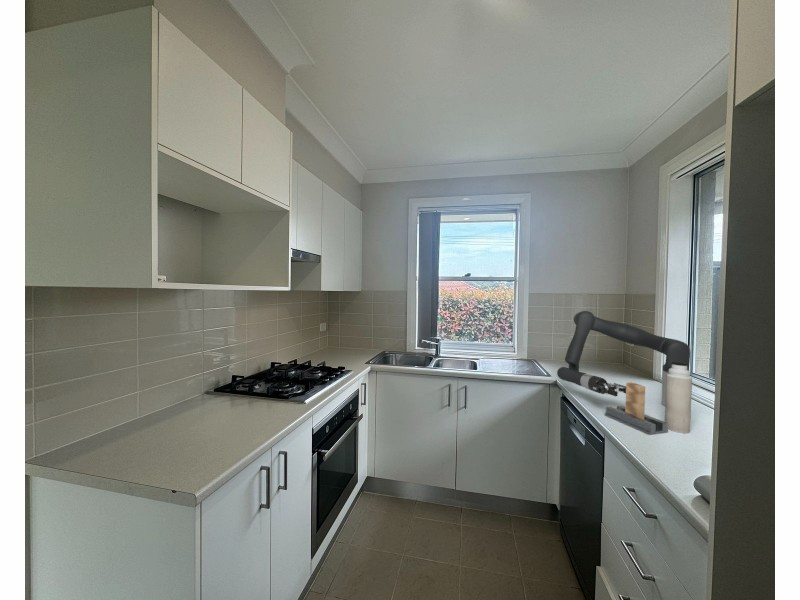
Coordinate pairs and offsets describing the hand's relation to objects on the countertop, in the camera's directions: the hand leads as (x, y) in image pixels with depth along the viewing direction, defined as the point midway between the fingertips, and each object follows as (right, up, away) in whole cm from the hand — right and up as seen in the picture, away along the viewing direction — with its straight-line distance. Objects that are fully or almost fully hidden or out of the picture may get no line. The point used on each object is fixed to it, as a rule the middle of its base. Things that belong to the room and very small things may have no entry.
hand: (624, 393), depth 140 cm
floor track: (+1, -12, -4) cm, 13 cm away
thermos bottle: (+15, -12, -9) cm, 22 cm away
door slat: (+1, -11, -4) cm, 12 cm away
